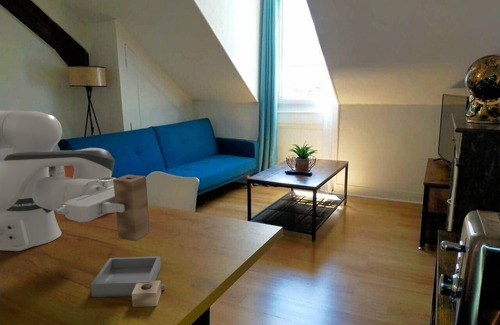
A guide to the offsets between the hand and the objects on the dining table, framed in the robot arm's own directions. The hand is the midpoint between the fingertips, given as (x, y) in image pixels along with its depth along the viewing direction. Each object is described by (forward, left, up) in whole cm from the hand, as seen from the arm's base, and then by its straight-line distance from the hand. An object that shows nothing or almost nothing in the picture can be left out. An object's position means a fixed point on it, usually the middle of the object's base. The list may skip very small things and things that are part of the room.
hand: (134, 203), depth 81 cm
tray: (-2, -1, -19) cm, 19 cm away
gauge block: (+4, -9, -19) cm, 21 cm away
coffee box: (-57, +79, -19) cm, 100 cm away
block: (-1, 0, -8) cm, 8 cm away
